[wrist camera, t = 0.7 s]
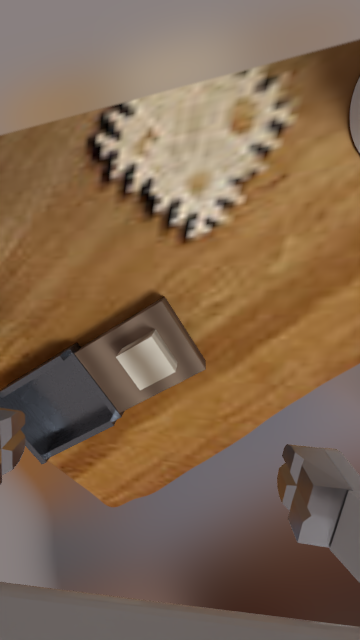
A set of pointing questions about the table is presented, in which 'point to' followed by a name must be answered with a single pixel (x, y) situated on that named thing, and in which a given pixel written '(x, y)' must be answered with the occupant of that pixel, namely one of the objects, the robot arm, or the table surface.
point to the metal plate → (107, 346)
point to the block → (147, 360)
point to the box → (59, 405)
